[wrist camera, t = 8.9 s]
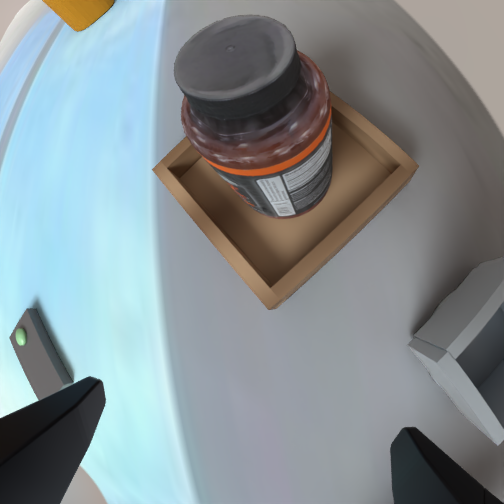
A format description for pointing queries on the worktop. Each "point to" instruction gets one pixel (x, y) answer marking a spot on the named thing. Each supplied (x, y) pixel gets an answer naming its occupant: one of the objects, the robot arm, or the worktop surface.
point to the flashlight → (79, 11)
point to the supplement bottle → (258, 113)
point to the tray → (299, 228)
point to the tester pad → (38, 356)
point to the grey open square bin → (470, 347)
